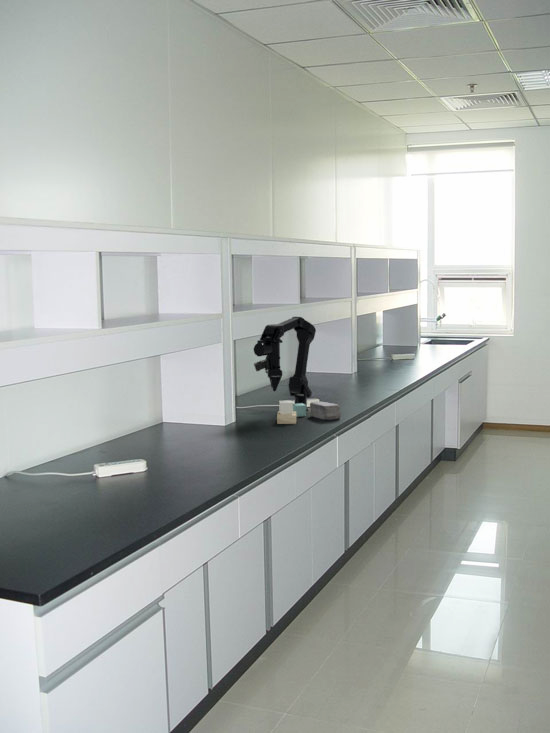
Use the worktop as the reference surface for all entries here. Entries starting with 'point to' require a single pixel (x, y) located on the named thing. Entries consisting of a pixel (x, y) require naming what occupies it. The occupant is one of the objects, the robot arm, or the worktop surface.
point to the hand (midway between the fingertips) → (273, 389)
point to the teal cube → (299, 409)
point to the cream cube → (285, 407)
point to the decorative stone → (325, 410)
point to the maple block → (286, 418)
